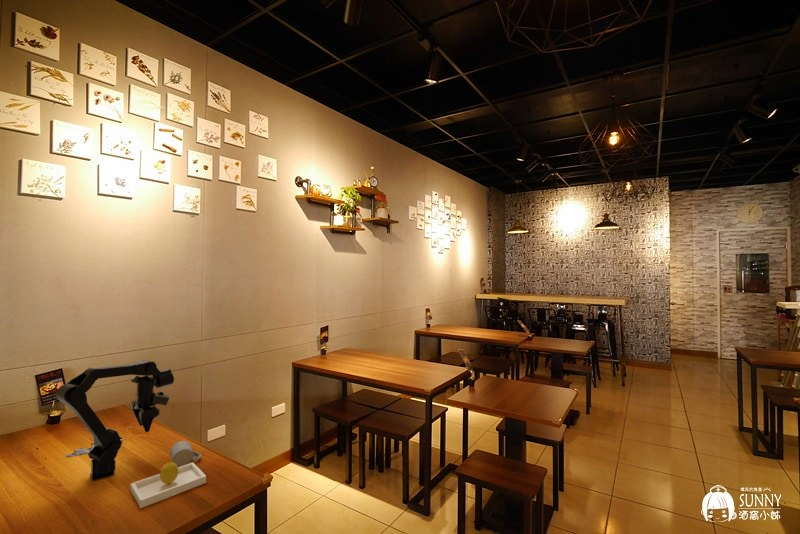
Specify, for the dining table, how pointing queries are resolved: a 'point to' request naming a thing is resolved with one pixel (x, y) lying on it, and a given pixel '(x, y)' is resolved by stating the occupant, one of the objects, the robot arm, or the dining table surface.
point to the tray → (166, 485)
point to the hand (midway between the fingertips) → (144, 428)
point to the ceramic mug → (183, 453)
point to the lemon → (169, 472)
